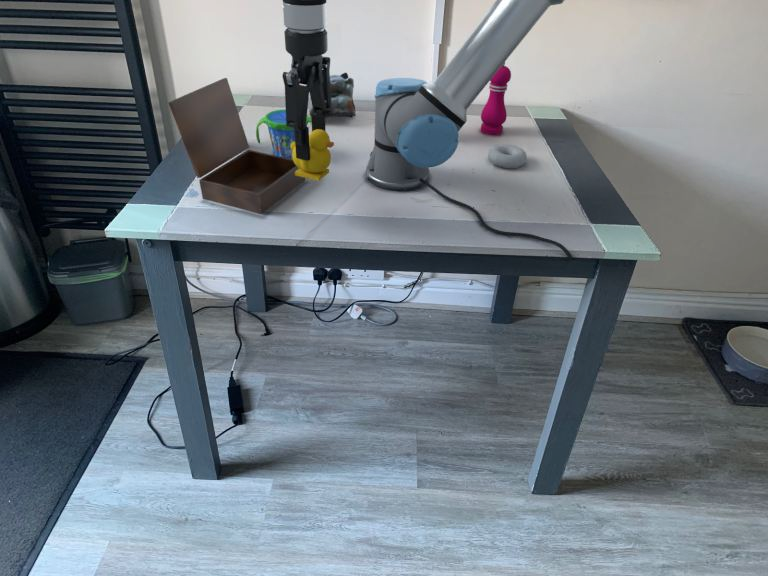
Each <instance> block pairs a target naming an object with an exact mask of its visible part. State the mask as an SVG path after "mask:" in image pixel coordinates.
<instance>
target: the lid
mask: <svg viewBox="0 0 768 576" xmlns="http://www.w3.org/2000/svg"><path fill="white" fill-rule="evenodd" d="M167 104H168V105H169V108H170V111H171V114H172V116H173V118H174V121H175V123H176V127H177V129H178V132H179V134H180V137H181V139H182V142H183V145H184V147H185V150H186V152H187V154H188V157H189V160H190V162H191V165H192V168H193V170H194V173H195V176H196V178H197V179H202V178H203V177H205V176H207V175H208V174H210V173H211V172H213V171H215V170H216V169H218V168H219V167H221V166H223V165H224V164H226V163H228V162H229V161H231V160H232V159H234V158H236V157H237V156H239V155H240V154H242V153H244V152H245V151H247V150H249V148H250V144H249V142H248V138H247V135H246V131H245V129H244V126H243V124H242V121H241V117H240V114H239V111H238V108H237V105H236V102H235V99H234V96H233V92H232V90H231V86H230V84H229V80H228V77H224V78H221V79H219V80H216V81H214V82H212V83H210V84H207V85H205V86H203V87H200V88H198V89H195V90H193V91H191V92H189V93H186V94H184V95H182V96H179V97H177V98H174V99H172V100H170V101H168V102H167Z"/></svg>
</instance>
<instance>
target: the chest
mask: <svg viewBox="0 0 768 576" xmlns="http://www.w3.org/2000/svg"><path fill="white" fill-rule="evenodd" d="M298 169H299V168H298V167H297V166H296V165H295V163H294V161H293V158H284V157H280V156H276V155H275V154H270V153H266V152H261V151H258V150H253V149H246V150H245V151H243V152H241V153H240V154H238V155H236V156H235V157H233V158H232V159H230V160H228V161H227V162H225V163H223V164H222V165H220V166H219V167H217V168H215V169H214V170H212V171H211V172H209V173H207V174H206V175H204V176H202V177H201V178H199V186H200V191H201V197H202V199H203V200H206V201H210V202H213V203H216V204H220V205H224V206H229V207H232V208H236V209H240V210H242V211H247V212H251V213H255V214H259V215H264V214H265V213H266V212H267V211H268V210H269V209H271V208H272V207H273V206H275V205H276V204H277V203H278V202H280V201H281V200H283V199H284V198H285V197H287V195H288V194H290V193H291V192H292V191H294V190H296V188H298V187H299V186H300V185H301V184H303V182H305V181H306V178H305V177H300V176H296V175H295V171H297V170H298Z"/></svg>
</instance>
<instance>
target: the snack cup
mask: <svg viewBox="0 0 768 576" xmlns="http://www.w3.org/2000/svg"><path fill="white" fill-rule="evenodd" d="M308 123H311V124H312V121H311V116H308V115H307V120H306V127H308ZM262 124H265V125H266V126H267V129H268V134H269V138H270V142H271V146H272V152H273V155H275V156H280V157H284V158H288V159H293V158H292V152H293V151H292V149H291V144H292V142H295V135H294V128H292V127H287V125H286V108H285V109H283V108H282V109H277V110H272V111H269V112H267V113H266V115H265V116H264V117H262V118H261V119H259V120H258V122H257V124H256V128H255V137H256V141H257V143H258V144H261V138H260V132H259V127H260V126H261V125H262Z"/></svg>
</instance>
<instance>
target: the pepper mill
mask: <svg viewBox="0 0 768 576" xmlns="http://www.w3.org/2000/svg"><path fill="white" fill-rule="evenodd" d="M511 78H512V72H511V69H510V67H508V66H506V61H505V62H504V64H503V65H502V66H501V67H500V69H499V70H498V71H497V72H496V74H495V75H494V76H493V77H492V78H491V80H490V81H489V83H488V84H489V86H488V89H489V95H488V98H487V101H486V103H485V105H484V106H483V108H482V111H481V113H480V120H481V122H482V123H481V125H480V132H481V134H484V135H487V136H501V135H502V134H503V129H504V126H503V124H504V123H505V122H506V121H507V115H508V114H507V109H506V105H505V94H506V91H508V83H509V82H510V81H511Z"/></svg>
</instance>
